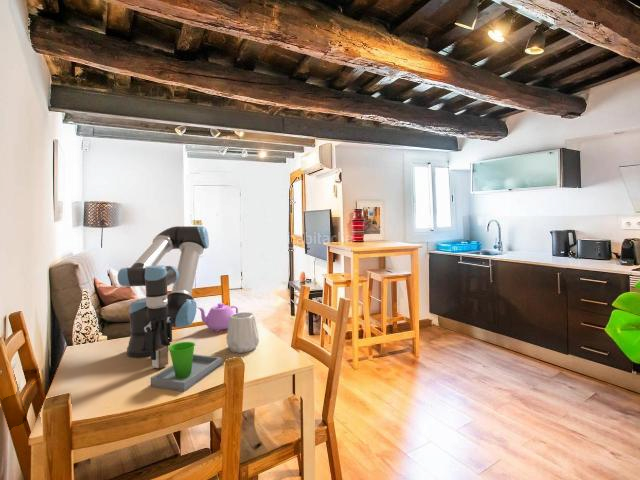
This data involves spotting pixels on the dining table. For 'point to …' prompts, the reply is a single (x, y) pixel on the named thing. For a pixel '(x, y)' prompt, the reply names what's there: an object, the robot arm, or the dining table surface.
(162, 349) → the walnut block
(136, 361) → the dining table surface
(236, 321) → the vase
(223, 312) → the teapot
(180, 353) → the cup
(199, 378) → the tray
